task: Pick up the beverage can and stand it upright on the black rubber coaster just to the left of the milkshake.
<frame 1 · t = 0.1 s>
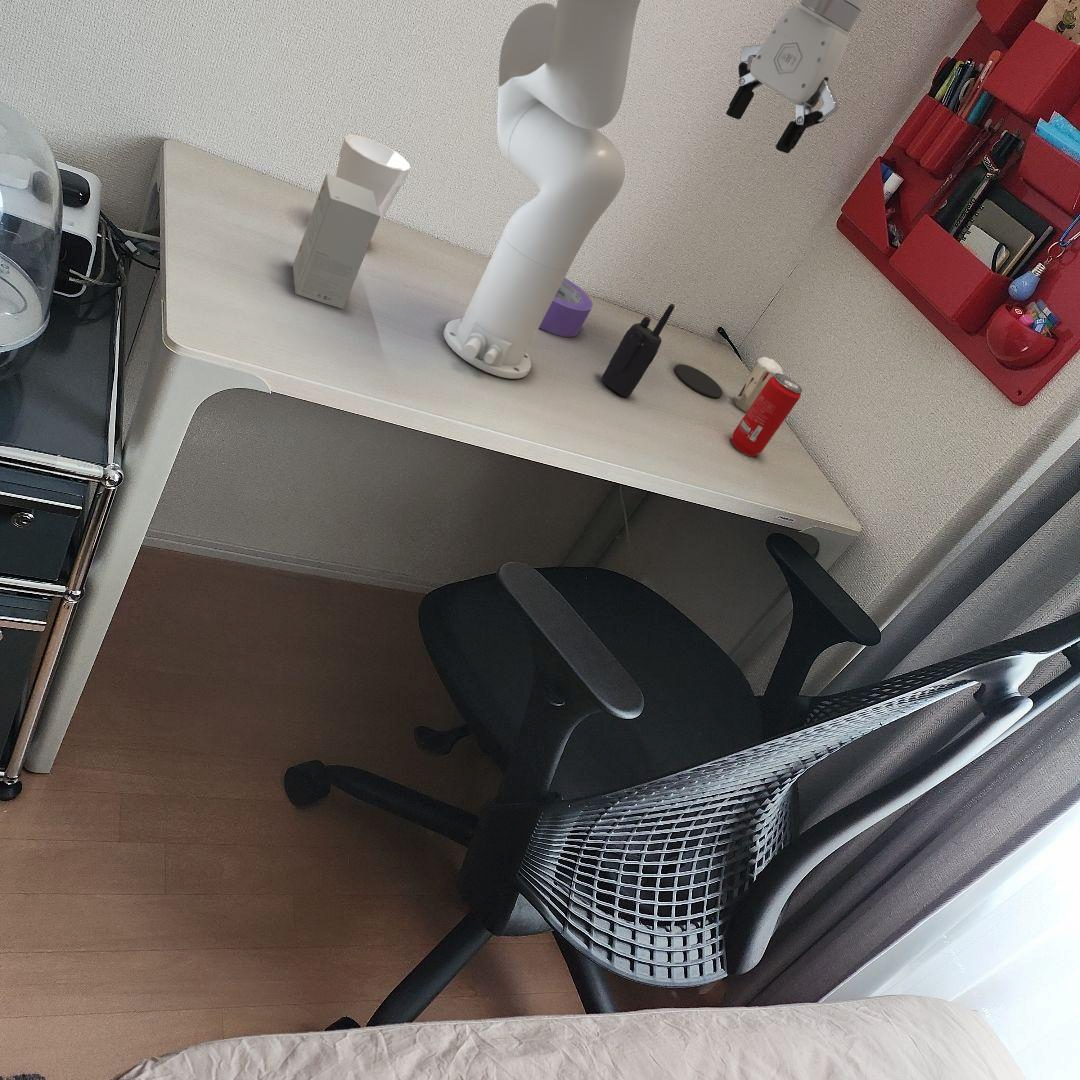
hand: (756, 133, 141), 37 cm above the table, tool pointing down, fingers open, 9 cm apart
coaster: (697, 382, 165), on the table
milkshake: (744, 409, 166), on the table
two-way radio: (612, 389, 146), on the table
beverage can: (742, 448, 152), on the table
foam cup: (345, 238, 144), on the table
tape roll: (544, 316, 156), on the table
small box: (317, 289, 127), on the table
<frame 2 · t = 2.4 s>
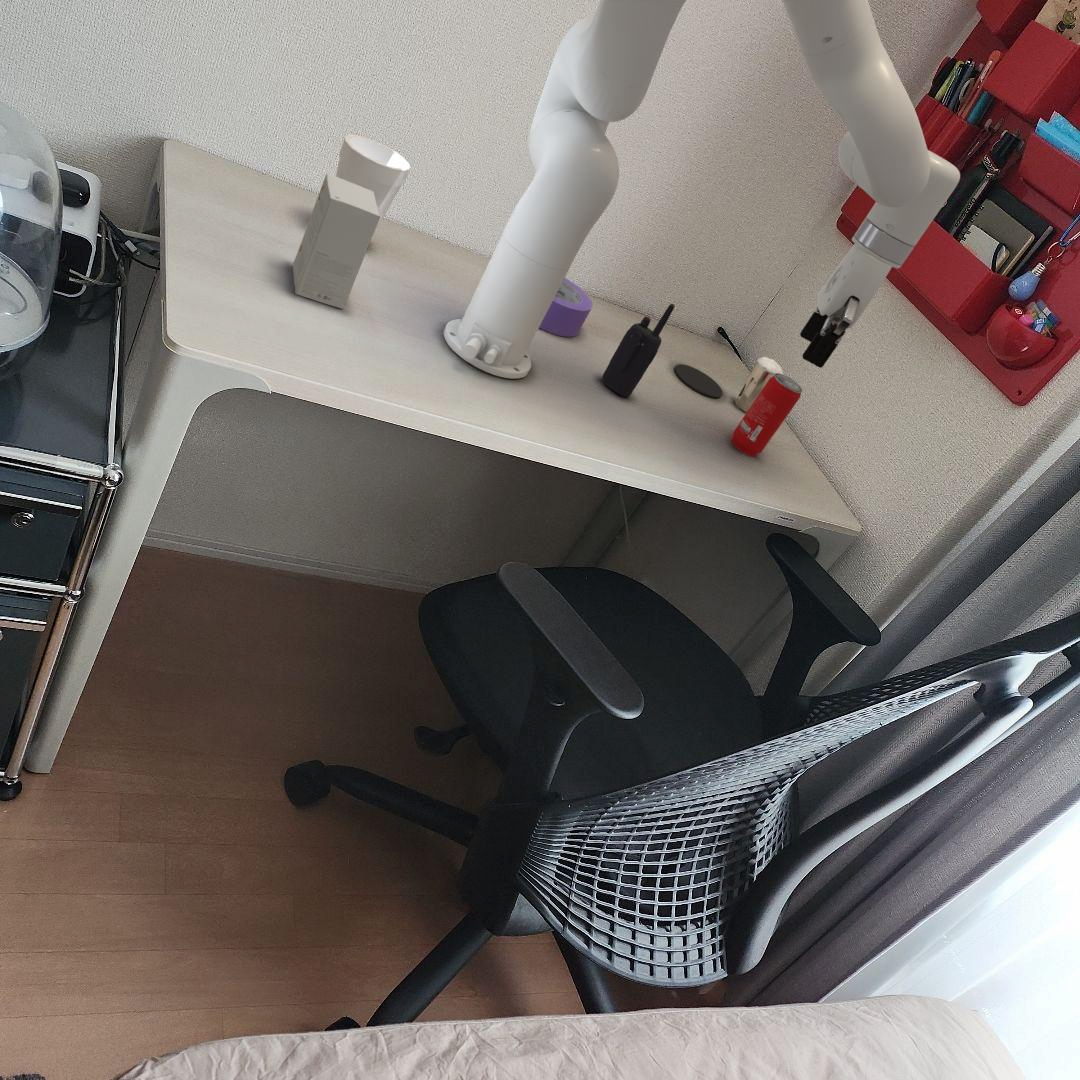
hand: (809, 351, 143), 17 cm above the table, tool pointing down, fingers open, 9 cm apart
nothing on the table moved.
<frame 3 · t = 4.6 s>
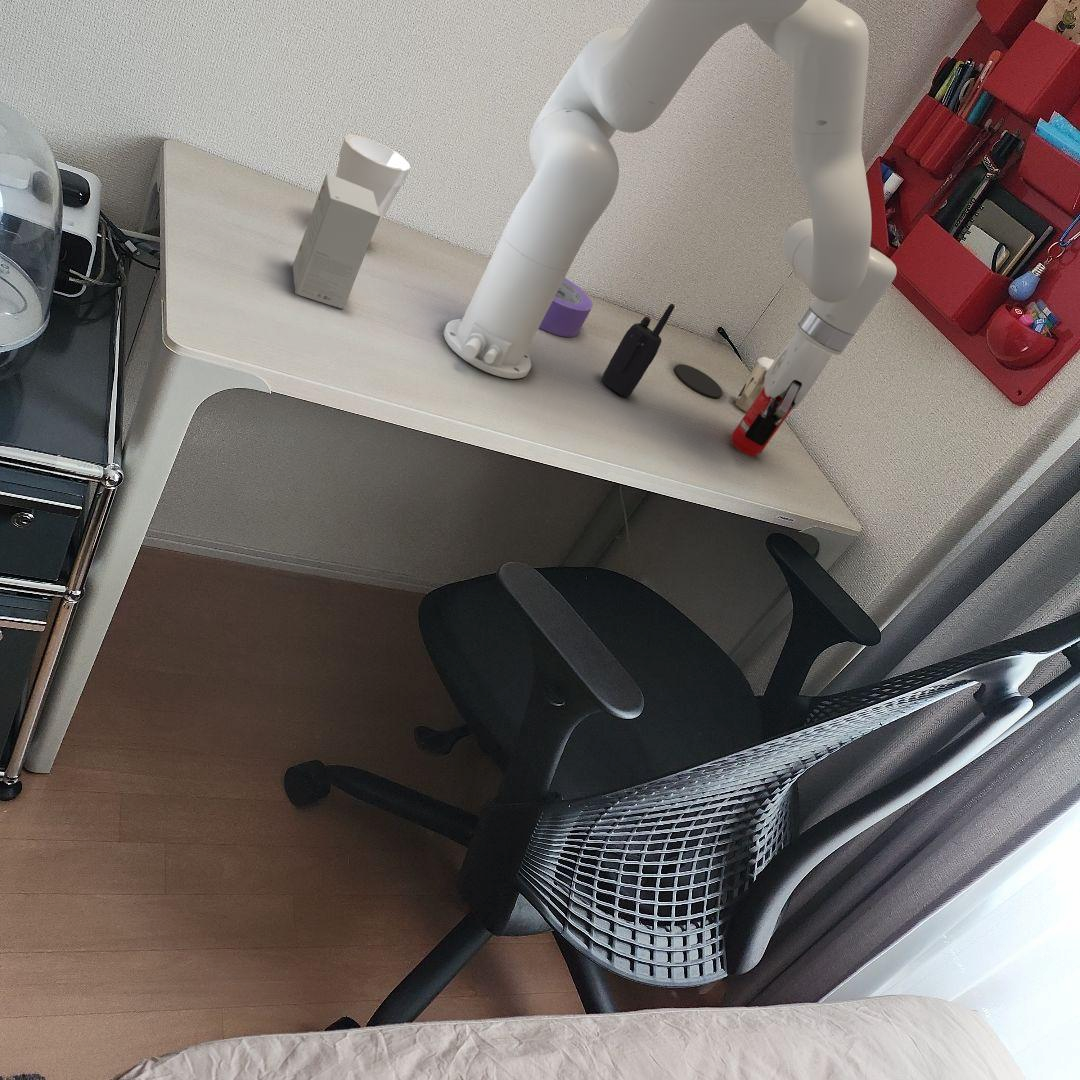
hand: (754, 432, 151), 3 cm above the table, tool pointing down, fingers closed on beverage can, 5 cm apart
beverage can: (742, 448, 152), on the table, touching gripper
everything else where it was.
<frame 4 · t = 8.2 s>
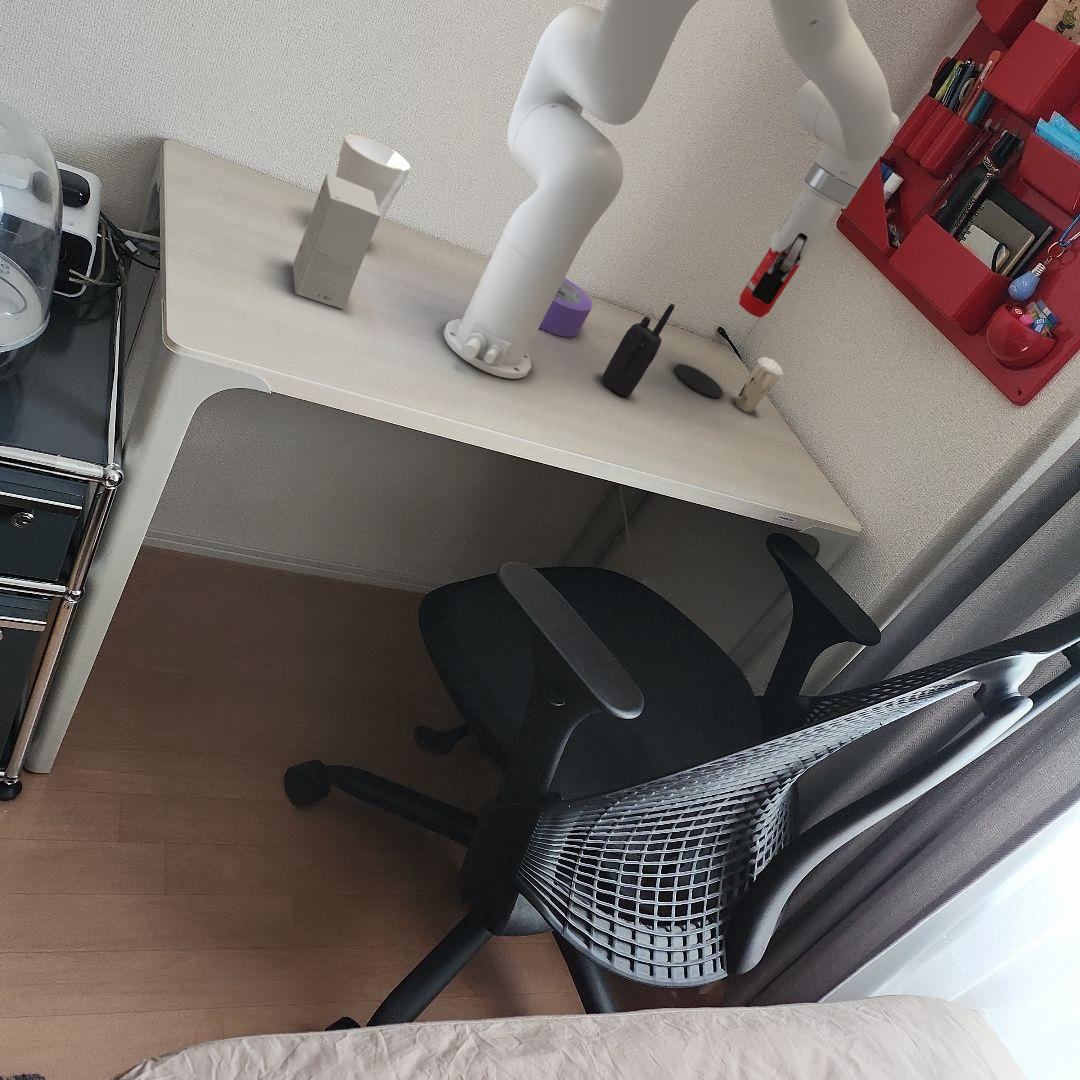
hand: (760, 293, 155), 18 cm above the table, tool pointing down, fingers closed on beverage can, 5 cm apart
beverage can: (750, 310, 157), point 15 cm above the table, touching gripper
everything else where it was.
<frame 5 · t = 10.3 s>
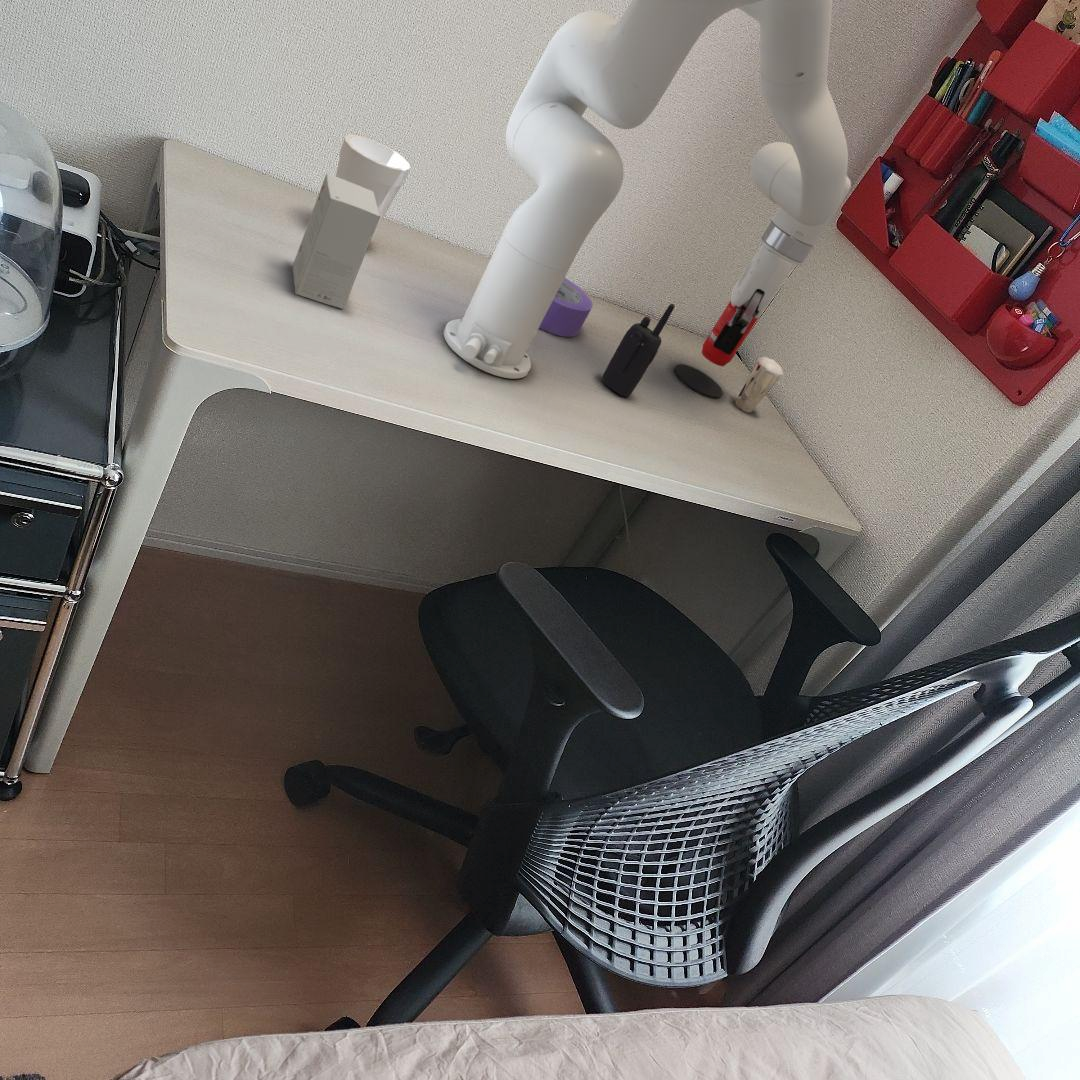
hand: (722, 343, 161), 8 cm above the table, tool pointing down, fingers closed on beverage can, 5 cm apart
beverage can: (712, 359, 163), point 5 cm above the table, touching gripper
everything else where it was.
when the fingers open (3 cm above the table, at t = 11.8 s): beverage can stays where it is, resting on coaster.
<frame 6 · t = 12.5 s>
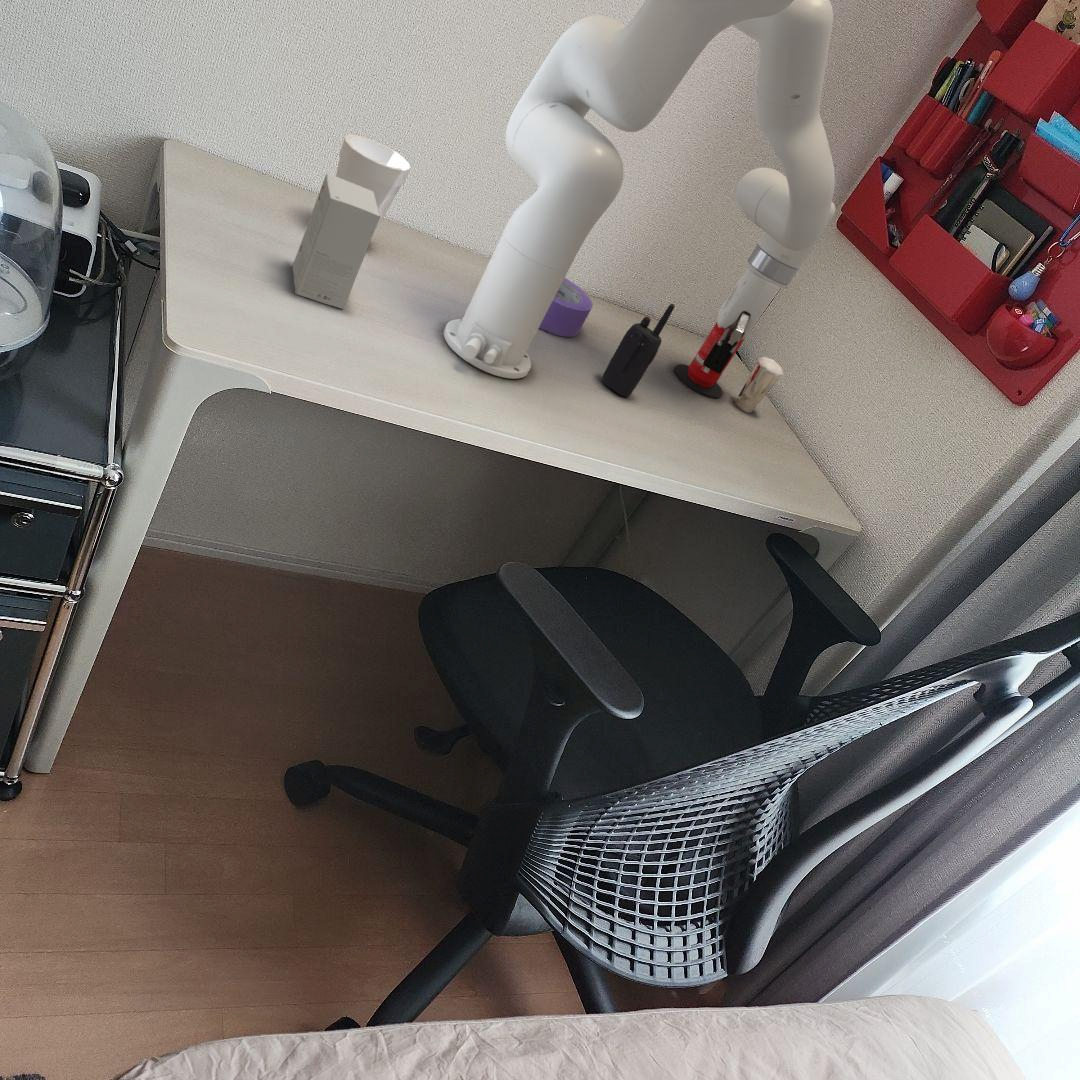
hand: (712, 358, 163), 5 cm above the table, tool pointing down, fingers open, 9 cm apart
beverage can: (698, 381, 165), resting on coaster
everything else where it was.
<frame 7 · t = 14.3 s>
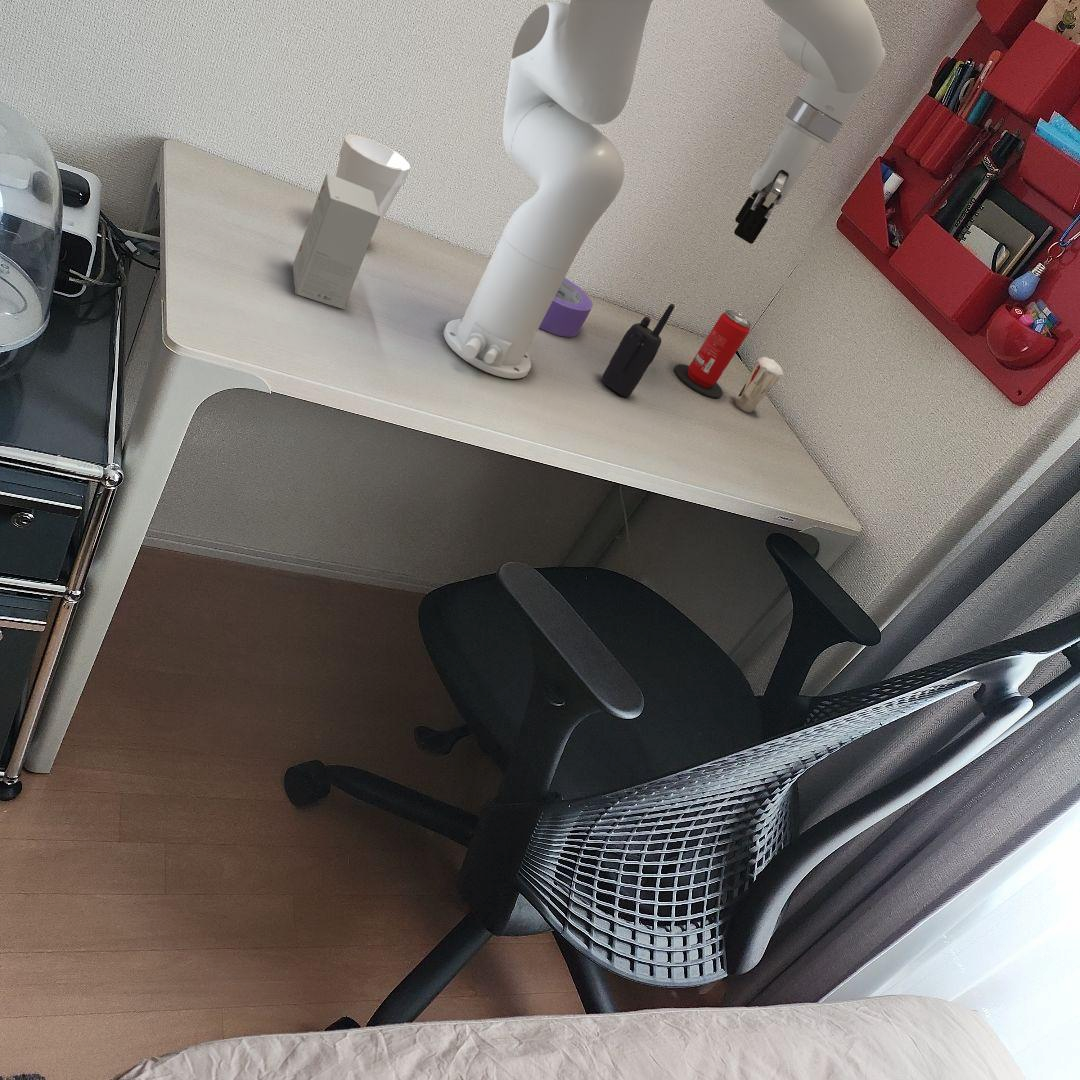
hand: (743, 232, 148), 25 cm above the table, tool pointing down, fingers open, 9 cm apart
nothing on the table moved.
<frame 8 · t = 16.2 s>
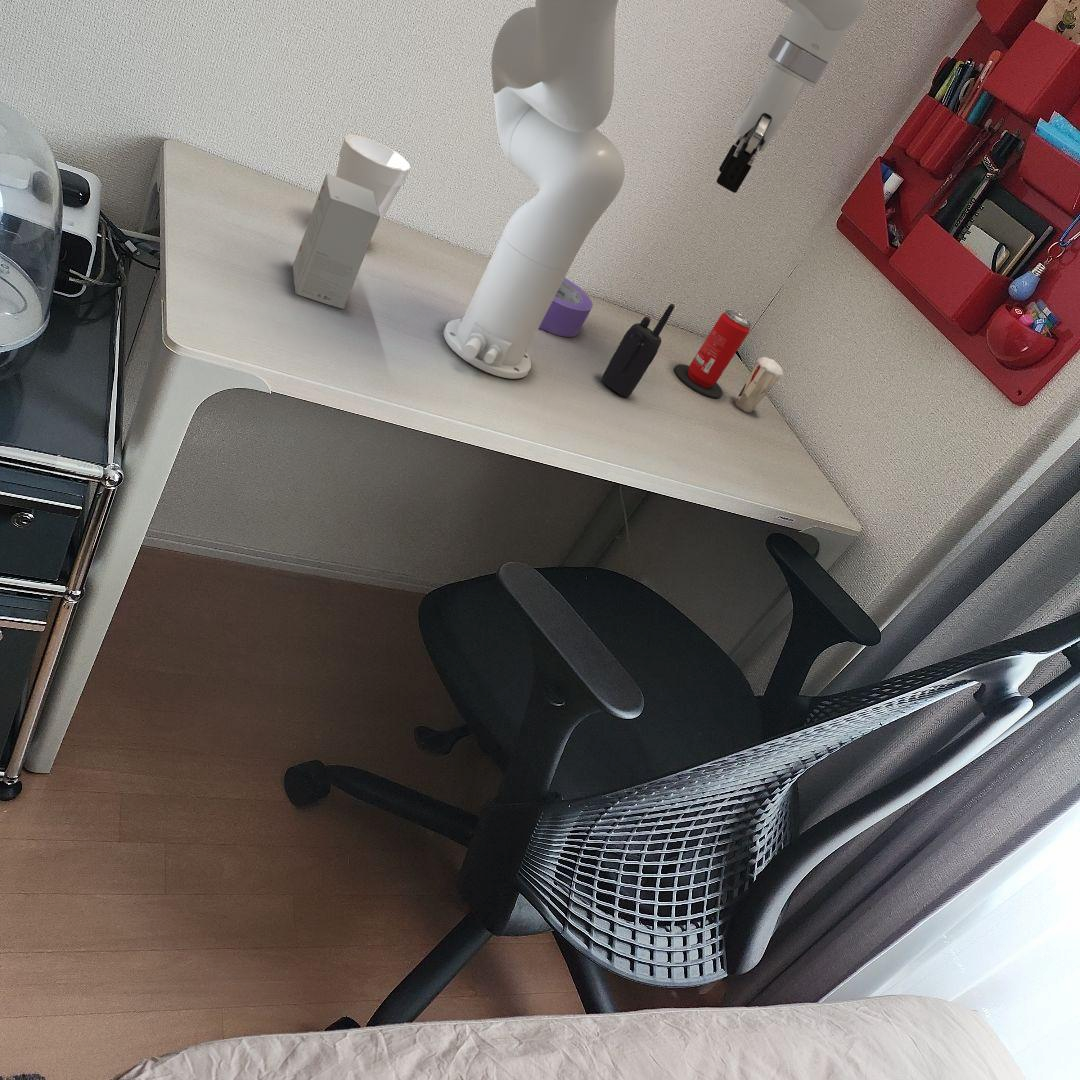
hand: (726, 181, 142), 30 cm above the table, tool pointing down, fingers open, 9 cm apart
nothing on the table moved.
at the end: beverage can inside the target area on the table beside the milkshake (0.1 cm from its centre), resting on coaster; beverage can 0.1 cm from the coaster (horizontally); beverage can tilted 0° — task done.
